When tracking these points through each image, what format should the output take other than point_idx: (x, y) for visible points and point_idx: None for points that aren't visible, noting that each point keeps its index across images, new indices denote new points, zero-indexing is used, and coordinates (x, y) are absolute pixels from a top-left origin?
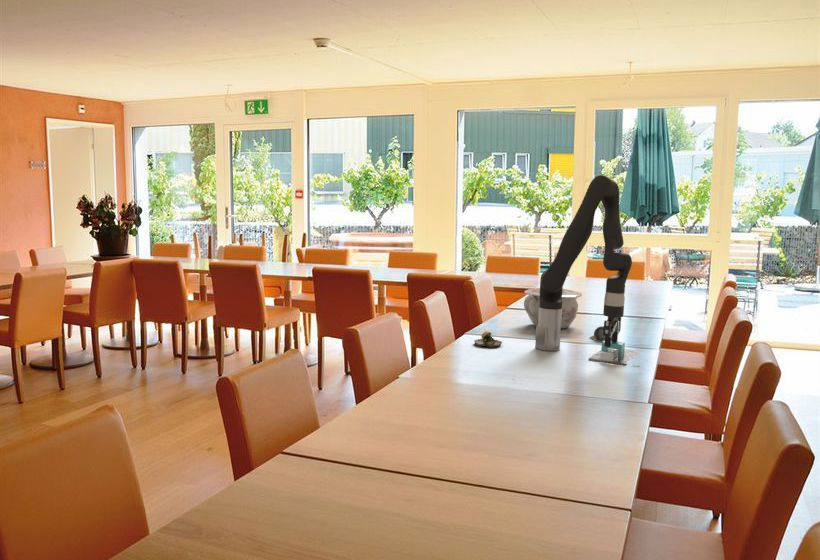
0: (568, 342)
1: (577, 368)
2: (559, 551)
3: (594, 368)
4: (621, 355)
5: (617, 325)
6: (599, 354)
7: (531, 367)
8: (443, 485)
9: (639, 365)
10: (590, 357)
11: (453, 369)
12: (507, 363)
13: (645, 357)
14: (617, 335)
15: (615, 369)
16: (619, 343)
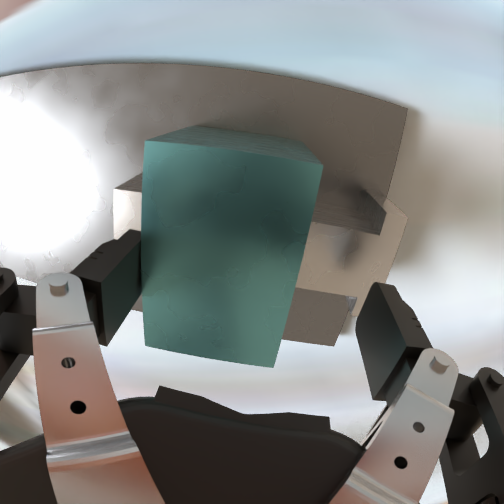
0: (30, 391)
1: (495, 345)
2: None
3: (494, 285)
4: (288, 142)
5: (137, 449)
6: None
7: (476, 437)
8: None
9: (323, 5)
10: (313, 339)
11: None
12: (434, 475)
13: (50, 24)
14: (99, 273)
15: (497, 176)
16: (248, 198)
